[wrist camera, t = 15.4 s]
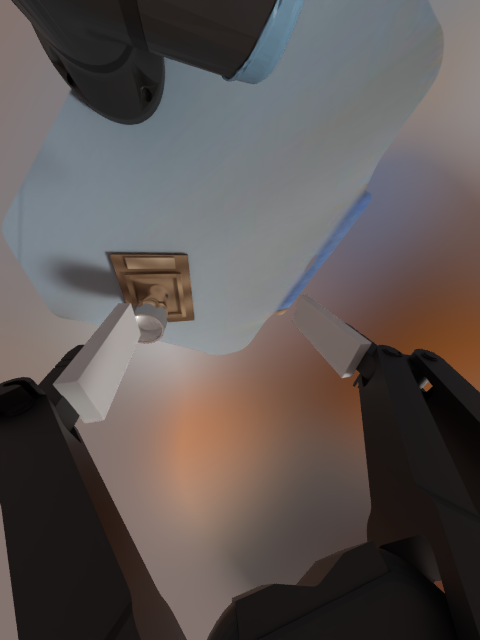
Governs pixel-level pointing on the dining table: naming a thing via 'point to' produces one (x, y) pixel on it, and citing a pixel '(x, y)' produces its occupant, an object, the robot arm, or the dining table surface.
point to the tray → (156, 280)
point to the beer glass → (152, 313)
